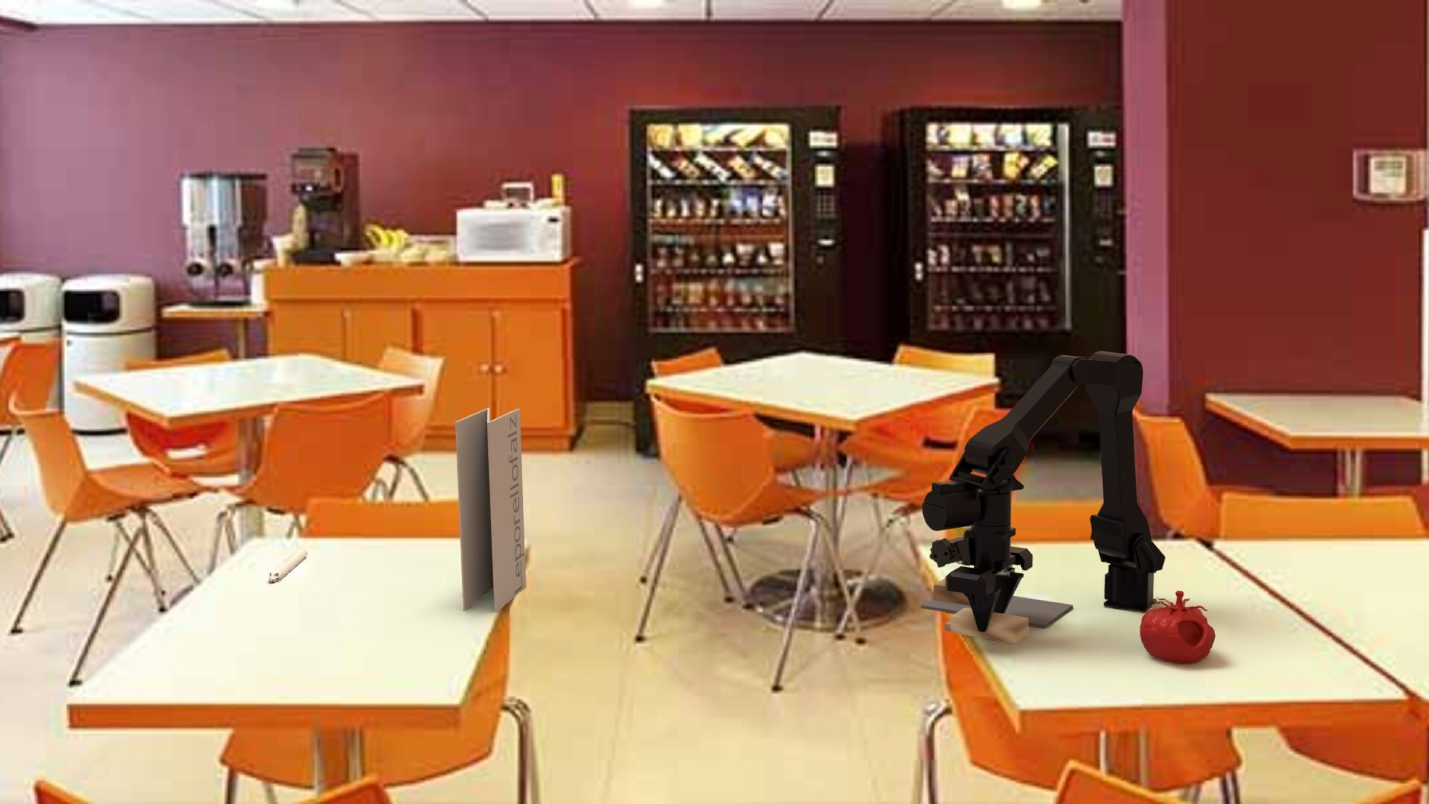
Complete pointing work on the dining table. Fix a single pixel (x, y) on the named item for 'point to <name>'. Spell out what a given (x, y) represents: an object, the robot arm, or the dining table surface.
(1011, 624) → the birch plank
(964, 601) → the wooden block
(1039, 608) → the underlay mat
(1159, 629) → the pomegranate
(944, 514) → the robot arm
